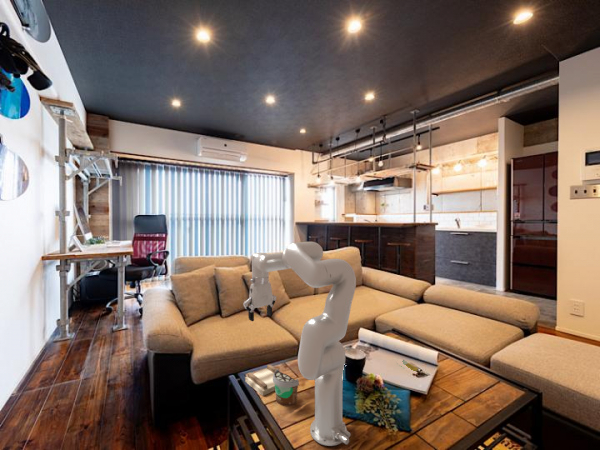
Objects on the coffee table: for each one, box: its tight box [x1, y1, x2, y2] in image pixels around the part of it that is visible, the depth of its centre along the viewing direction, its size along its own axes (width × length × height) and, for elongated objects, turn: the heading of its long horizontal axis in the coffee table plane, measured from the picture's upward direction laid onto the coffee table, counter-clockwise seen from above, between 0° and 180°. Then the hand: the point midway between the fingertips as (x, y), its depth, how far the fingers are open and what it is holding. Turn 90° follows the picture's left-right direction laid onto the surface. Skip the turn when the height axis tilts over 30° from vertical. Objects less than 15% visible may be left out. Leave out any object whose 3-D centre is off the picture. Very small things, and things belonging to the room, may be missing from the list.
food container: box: [273, 368, 300, 407], centre depth 110 cm, size 12×6×10 cm, turn 47°
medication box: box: [402, 359, 419, 371], centre depth 133 cm, size 12×3×4 cm, turn 23°
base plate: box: [244, 364, 285, 397], centre depth 124 cm, size 14×14×4 cm
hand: (260, 317), depth 126 cm, fingers open, 9 cm apart
